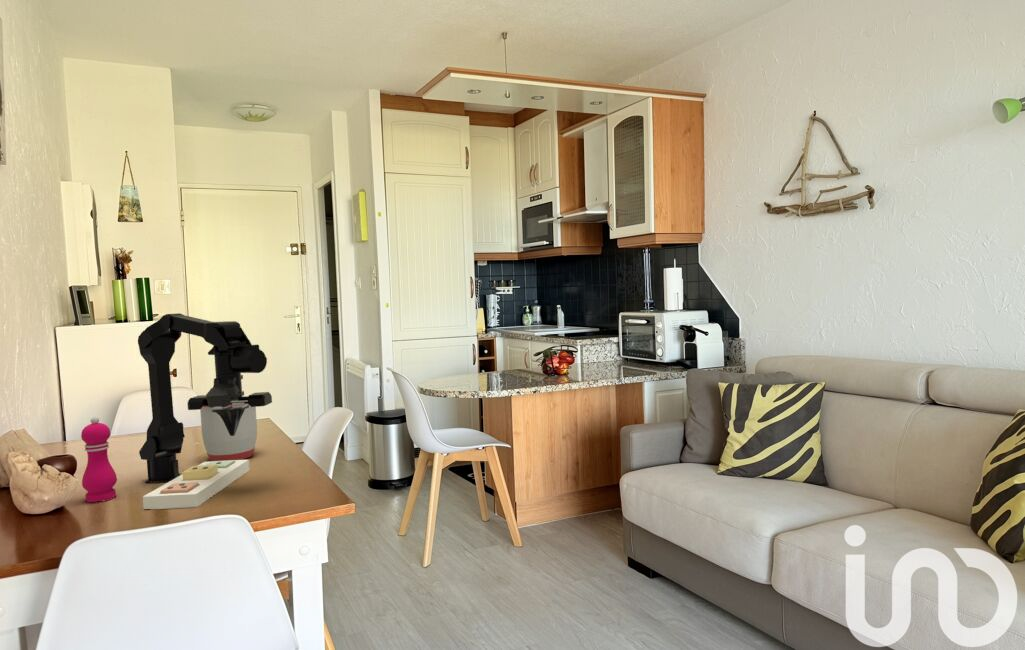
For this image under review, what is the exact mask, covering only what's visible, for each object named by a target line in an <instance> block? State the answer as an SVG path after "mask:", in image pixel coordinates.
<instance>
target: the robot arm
mask: <svg viewBox="0 0 1025 650" xmlns="http://www.w3.org/2000/svg"><path fill="white" fill-rule="evenodd" d="M182 333H184V334H189V335H192V336H196V337H200V338H202V339H203V340H204V341H205V342H206V343H208V344H209V345H212V347H211V349H209V350H208V351H207V355H208V356H214V366H215V367H214V369H215V378H213V385H212V387H211V388H210V389H209V390H208V392H207V393H206V394H203V395H196V396H193V397H190V398H189V399H188V400H187V410H188V411H196V410H200V409H201V408H202V407H203V406H209V407H210V408H213V410H212V412H216V413H217V414H218V415H220V417H221V418H222V420H223V422H224V424H225V426H226V428H227V430H228V432H229V434H230V436H234V435H235V434H236V431H237V428H238V425H239V422H240V419H241V417H242V415H243V412H244V410H245V409H246V408H249V405H250V406H251V407H265V406H268V405H270V404H272V403H273V398H272V397H273V396H272V394H271V393H270V392H269V391H263V392H260V391H259V392H258V391H257V392H253V393H251V394H248V395H247V396H245V391H244V390H243V387H242V386H243V384H242V380H243V379H244V375H243V374H259V373H262V372H263V371H264V370H265V369H266V367H267V364H268V358H267V357H266V354H265V352H264V350H261V349H260V344H252V342H251V340H250V339H249V338H248V336H247V334H246V333H245V331H244V330H243V328H242V327H241V323H239V322H238V321H234V320H233V321H230V320H229V321H224V320H223V321H211V320H207V319H202V318H198V317H194V316H193V317H192V316H189V315H185V314H183V313H166V314H164V315H162V316H161V317H160V318H159V320H157V321H155V322H154V323H152V324H150V325H149V326H146V328H145V329H144V330H142V331H141V332H140V335H138V336H137V338H138V339H137V344H138V349H139V354H140V356H141V357H142V358H143V359H144V361H145V362H146V363H147V367H148V379H149V391H150V401H151V402H150V403H151V414H152V415H151V416H152V417H151V418H152V419H151V421H150V424H149V425H148V427H147V430H146V440H145V441H144V443H143V445H142V446H141V448H140V449H139V450H138V453H139V456H140V459H141V460H145V461H146V469H147V479H145V481H144V483H161V482H162V483H168V482H170V481H171V480H173V479H175V478H177V477H179V476H180V475H181V473H180V471H179V467H180V466H179V460H178V459H177V454H181V453H182V449H183V443H184V438H186V436H185V434H184V433H185V432H184V424H183V422H179V421H178V420H177V418H176V417H175V414H174V402H173V401H174V400H173V391H172V389H173V388H172V379H171V366H170V363H171V360H172V358H173V356H174V355H175V352H176V342H178V340H179V339H180V338H181V337H182ZM231 404H232V406H229V405H231ZM248 404H249V405H248Z"/></svg>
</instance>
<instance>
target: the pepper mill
mask: <svg viewBox="0 0 1025 650" xmlns="http://www.w3.org/2000/svg"><path fill="white" fill-rule="evenodd" d="M80 436H81V437H80V438H81V440H82V441H83V443H85V444H84V448H85V449H84V451H85V452H86V453H87V462H86V463H87V464H86V467H85V470H84V473H83V475H82V479H81V485H82V488H83V489H84V490H85V491H86V492H85V494H84V495H85V502H86V501H87V503H89V502H96V503H98V502H97V501H103V500H107V501H109V500H108V499H111V498H113V499H115V498H116V497H115V496H117V495H116V491H117V490H116V488H114V486H115V485H116V483H117V481H118V477H117V473H116V472H115V469H114V467H113V466H112V464H111V463H110V460H109V456H108V449H109V448H110V445H109V443H110V442H108V440H109V439H110V437H111V430H110V428H109V426H108V425H107V424H105V423H102V422H100V419H99V417H97V416H92V418H91V419H90V424H88V425H86V426H85V427H84V428H83V429H82V431H81V435H80ZM114 497H115V498H114ZM111 500H112V499H111ZM103 502H104V501H103Z"/></svg>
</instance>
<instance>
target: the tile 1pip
mask: <svg viewBox="0 0 1025 650" xmlns="http://www.w3.org/2000/svg"><path fill="white" fill-rule="evenodd" d="M209 462H210V461H209ZM234 463H235V460H227V461H212V462H210V463H208V464H207V465H217V468H227V467H229V466H230V465H232V464H234Z"/></svg>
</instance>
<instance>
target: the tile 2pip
mask: <svg viewBox="0 0 1025 650" xmlns="http://www.w3.org/2000/svg"><path fill="white" fill-rule="evenodd" d="M182 474H183V481H188V480H207V479H210V478H212V477H213V476H215V475H216V474H218V468H217V465H204V466H198V465H193V466H190V467H189V468H187V469H186V470H184V471H182V473H181V475H182Z"/></svg>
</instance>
